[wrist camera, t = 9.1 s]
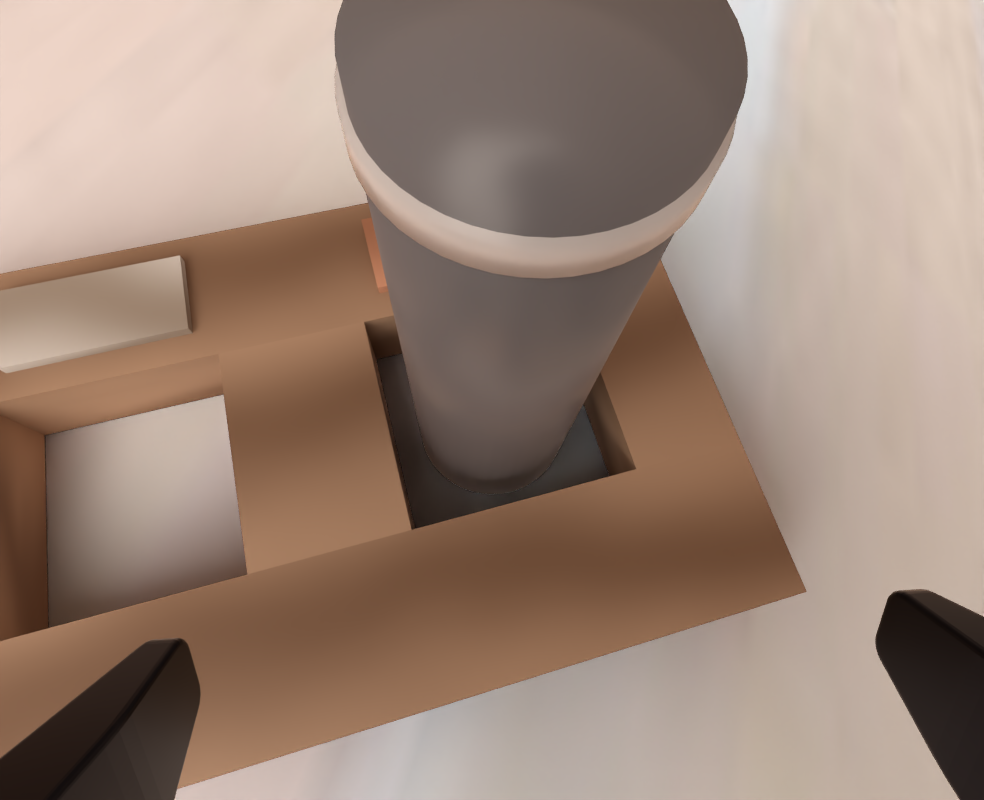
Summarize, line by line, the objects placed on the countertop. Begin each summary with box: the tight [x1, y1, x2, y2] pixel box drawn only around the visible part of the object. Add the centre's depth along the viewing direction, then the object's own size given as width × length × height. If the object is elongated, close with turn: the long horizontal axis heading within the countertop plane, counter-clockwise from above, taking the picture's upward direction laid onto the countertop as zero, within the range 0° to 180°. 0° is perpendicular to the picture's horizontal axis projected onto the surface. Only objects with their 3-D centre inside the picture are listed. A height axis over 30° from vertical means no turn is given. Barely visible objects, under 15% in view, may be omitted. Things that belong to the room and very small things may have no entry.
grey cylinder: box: [335, 0, 748, 495], centre depth 12 cm, size 5×5×13 cm
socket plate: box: [0, 203, 807, 789], centre depth 17 cm, size 14×22×3 cm, turn 106°
